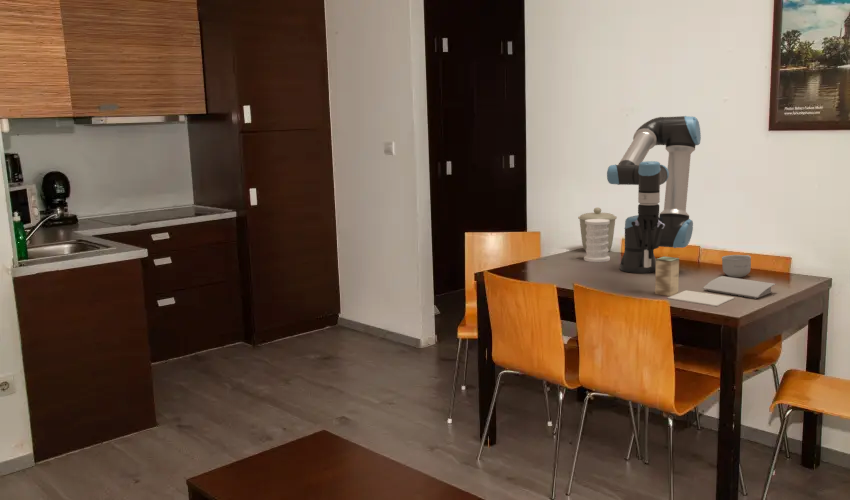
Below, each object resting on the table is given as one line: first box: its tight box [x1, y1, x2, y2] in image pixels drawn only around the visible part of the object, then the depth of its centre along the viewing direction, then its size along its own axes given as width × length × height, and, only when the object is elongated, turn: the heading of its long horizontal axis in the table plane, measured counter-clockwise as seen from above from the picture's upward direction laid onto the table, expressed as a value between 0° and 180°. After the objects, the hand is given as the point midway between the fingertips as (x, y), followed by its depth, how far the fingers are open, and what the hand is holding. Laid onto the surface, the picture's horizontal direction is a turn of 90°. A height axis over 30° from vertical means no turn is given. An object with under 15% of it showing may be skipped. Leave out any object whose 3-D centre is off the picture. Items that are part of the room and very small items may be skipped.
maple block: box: [654, 255, 680, 297], centre depth 273 cm, size 6×6×13 cm
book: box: [702, 275, 776, 300], centre depth 273 cm, size 15×23×4 cm, turn 41°
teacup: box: [721, 254, 752, 278], centre depth 298 cm, size 14×11×8 cm
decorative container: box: [583, 219, 611, 263], centre depth 339 cm, size 12×12×18 cm
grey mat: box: [667, 289, 735, 307], centre depth 265 cm, size 18×14×1 cm
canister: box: [578, 207, 618, 251], centre depth 360 cm, size 18×18×21 cm
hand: (647, 266), depth 278 cm, fingers closed
